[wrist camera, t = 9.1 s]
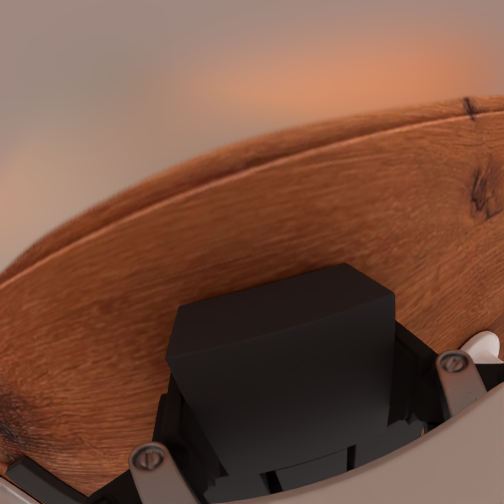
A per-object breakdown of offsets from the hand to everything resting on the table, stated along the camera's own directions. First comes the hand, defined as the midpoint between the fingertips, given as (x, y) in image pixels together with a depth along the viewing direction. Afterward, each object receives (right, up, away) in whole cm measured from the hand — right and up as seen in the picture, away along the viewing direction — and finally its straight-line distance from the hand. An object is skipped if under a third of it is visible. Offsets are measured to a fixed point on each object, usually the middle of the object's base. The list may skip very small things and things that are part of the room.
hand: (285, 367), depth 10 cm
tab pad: (0, -1, +1) cm, 2 cm away
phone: (-18, -20, +4) cm, 27 cm away
